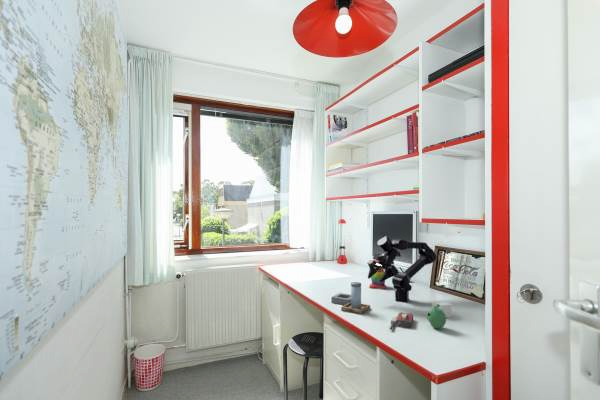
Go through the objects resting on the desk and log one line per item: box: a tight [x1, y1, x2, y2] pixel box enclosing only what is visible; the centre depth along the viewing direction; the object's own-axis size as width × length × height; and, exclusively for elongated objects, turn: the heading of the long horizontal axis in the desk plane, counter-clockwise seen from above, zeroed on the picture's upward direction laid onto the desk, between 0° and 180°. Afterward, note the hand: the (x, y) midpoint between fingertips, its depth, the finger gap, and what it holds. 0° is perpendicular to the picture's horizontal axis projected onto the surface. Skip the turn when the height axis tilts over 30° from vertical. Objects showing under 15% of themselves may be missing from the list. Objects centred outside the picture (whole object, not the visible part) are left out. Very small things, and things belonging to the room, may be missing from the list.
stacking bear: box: [369, 259, 387, 290], centre depth 211 cm, size 11×10×18 cm
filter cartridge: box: [350, 281, 362, 309], centre depth 164 cm, size 5×5×12 cm
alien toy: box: [426, 304, 447, 330], centre depth 139 cm, size 7×8×10 cm
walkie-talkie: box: [389, 312, 414, 331], centre depth 142 cm, size 9×4×20 cm
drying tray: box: [340, 302, 371, 315], centre depth 163 cm, size 11×11×2 cm
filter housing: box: [331, 292, 351, 306], centre depth 177 cm, size 10×10×3 cm
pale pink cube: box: [431, 300, 452, 318], centre depth 155 cm, size 6×6×6 cm
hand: (374, 279), depth 171 cm, fingers open, 9 cm apart
